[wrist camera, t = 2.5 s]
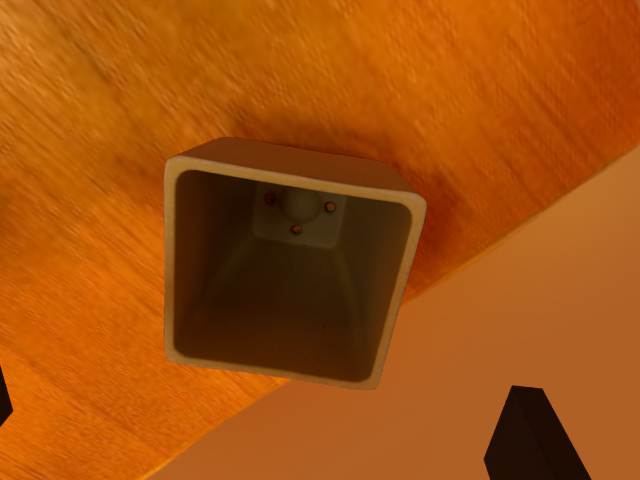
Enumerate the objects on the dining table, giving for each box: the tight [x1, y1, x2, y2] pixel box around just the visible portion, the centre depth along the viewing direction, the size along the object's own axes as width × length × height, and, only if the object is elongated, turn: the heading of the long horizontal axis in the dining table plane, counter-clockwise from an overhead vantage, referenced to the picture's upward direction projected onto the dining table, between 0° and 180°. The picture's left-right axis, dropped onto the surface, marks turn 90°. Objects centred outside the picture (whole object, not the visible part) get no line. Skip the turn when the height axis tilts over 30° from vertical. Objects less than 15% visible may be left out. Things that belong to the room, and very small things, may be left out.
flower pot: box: [164, 137, 427, 390], centre depth 20 cm, size 9×9×9 cm
